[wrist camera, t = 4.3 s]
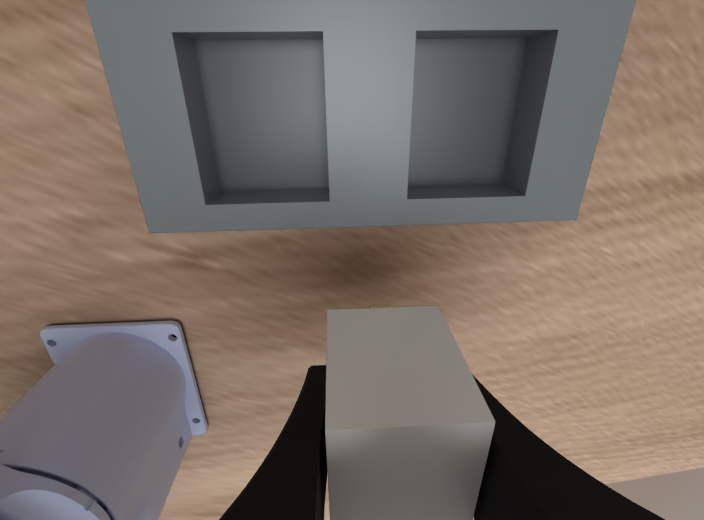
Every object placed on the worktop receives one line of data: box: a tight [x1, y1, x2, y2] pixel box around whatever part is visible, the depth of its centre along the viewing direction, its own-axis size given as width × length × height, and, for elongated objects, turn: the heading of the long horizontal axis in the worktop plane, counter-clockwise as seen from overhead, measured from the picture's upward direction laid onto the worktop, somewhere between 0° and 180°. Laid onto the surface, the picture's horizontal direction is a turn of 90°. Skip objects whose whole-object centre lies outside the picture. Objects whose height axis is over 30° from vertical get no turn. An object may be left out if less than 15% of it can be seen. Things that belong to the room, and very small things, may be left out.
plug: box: [325, 305, 495, 520], centre depth 12 cm, size 5×4×6 cm
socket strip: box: [85, 0, 636, 233], centre depth 16 cm, size 9×20×3 cm, turn 91°
